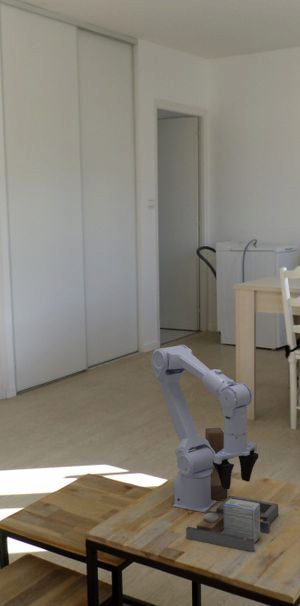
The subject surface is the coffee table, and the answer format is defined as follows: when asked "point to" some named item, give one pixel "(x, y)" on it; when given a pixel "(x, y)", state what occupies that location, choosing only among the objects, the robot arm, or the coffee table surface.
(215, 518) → the brown block grey dome
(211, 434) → the wooden block
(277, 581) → the coffee table surface
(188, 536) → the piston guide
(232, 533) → the medicine box
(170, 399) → the robot arm
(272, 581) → the coffee table surface
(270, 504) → the tray
